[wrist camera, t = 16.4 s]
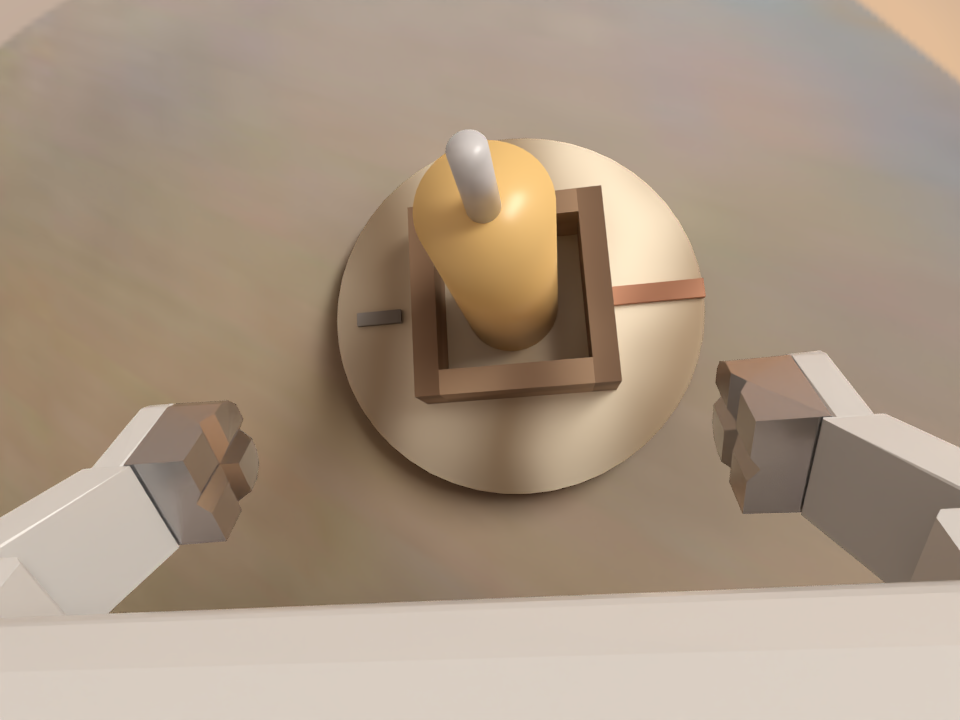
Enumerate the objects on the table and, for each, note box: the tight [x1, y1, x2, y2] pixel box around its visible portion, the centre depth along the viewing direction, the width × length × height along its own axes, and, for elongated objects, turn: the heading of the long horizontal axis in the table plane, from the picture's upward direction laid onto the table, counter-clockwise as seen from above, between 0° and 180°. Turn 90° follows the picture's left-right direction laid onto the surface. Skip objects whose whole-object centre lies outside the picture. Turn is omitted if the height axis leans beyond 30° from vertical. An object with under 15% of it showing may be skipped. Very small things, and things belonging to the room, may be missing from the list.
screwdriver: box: [413, 129, 558, 351], centre depth 20 cm, size 4×4×13 cm
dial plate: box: [337, 138, 706, 494], centre depth 26 cm, size 16×16×4 cm
